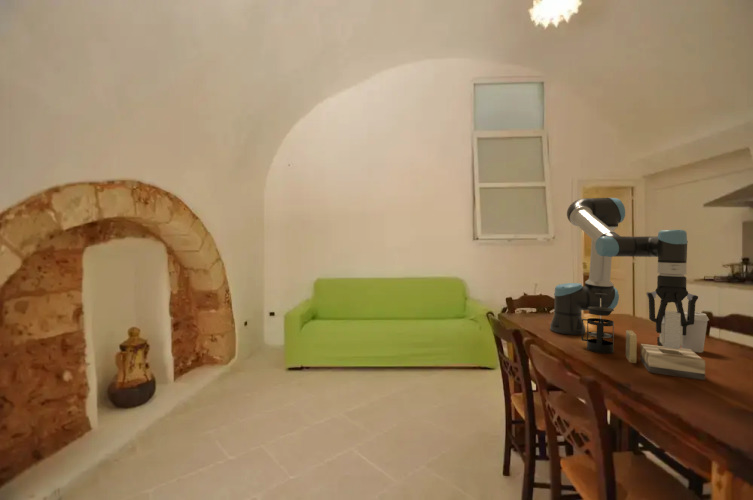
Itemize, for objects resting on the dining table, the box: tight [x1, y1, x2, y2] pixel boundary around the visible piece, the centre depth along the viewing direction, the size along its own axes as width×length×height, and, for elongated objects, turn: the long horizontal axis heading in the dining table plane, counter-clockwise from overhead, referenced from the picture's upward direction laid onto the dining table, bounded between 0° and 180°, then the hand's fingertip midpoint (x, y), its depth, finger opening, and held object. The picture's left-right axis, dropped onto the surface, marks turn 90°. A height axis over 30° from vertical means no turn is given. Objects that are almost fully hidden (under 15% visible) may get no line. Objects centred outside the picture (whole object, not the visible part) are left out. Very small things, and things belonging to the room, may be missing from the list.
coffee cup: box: [680, 310, 710, 354], centre depth 139 cm, size 10×10×15 cm
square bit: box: [662, 310, 681, 349], centre depth 117 cm, size 4×4×12 cm
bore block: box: [639, 343, 706, 381], centre depth 118 cm, size 14×14×6 cm
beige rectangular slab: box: [625, 329, 638, 364], centre depth 128 cm, size 8×2×10 cm, turn 152°
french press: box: [581, 293, 615, 355], centre depth 139 cm, size 12×9×23 cm
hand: (670, 343), depth 117 cm, fingers closed on square bit, 4 cm apart
